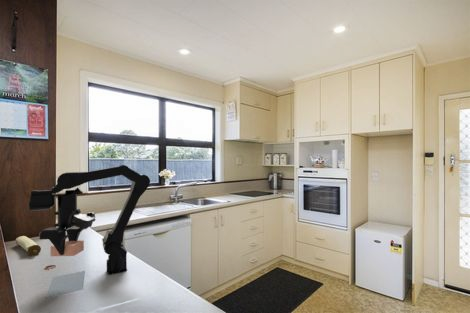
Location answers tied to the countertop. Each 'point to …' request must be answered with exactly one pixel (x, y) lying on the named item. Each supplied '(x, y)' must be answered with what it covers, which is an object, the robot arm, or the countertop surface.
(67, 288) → the mat
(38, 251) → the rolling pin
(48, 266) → the key
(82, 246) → the card box
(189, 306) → the countertop surface
